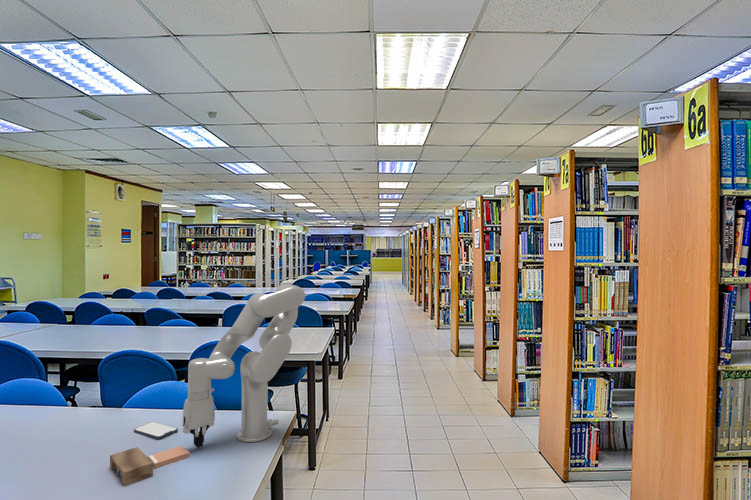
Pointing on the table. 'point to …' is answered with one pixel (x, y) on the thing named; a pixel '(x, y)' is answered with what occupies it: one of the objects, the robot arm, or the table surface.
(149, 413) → the table surface
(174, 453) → the salmon pink flat block
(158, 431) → the smartphone
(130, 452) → the wooden channel block
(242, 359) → the robot arm
